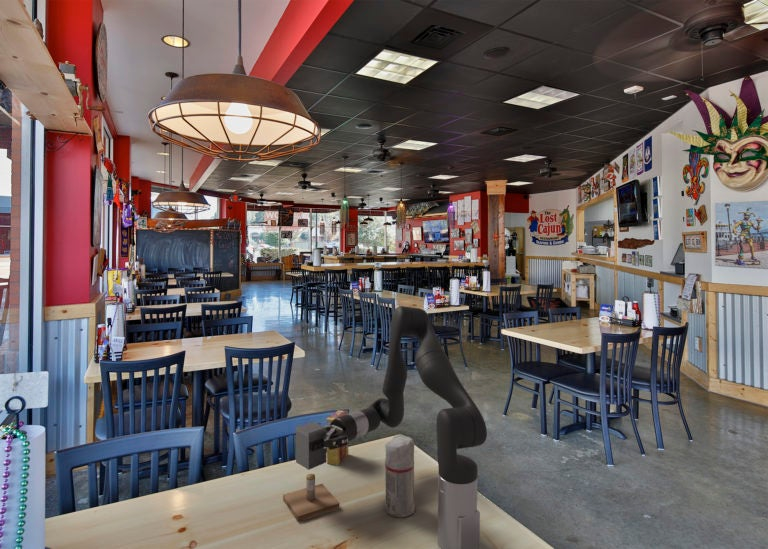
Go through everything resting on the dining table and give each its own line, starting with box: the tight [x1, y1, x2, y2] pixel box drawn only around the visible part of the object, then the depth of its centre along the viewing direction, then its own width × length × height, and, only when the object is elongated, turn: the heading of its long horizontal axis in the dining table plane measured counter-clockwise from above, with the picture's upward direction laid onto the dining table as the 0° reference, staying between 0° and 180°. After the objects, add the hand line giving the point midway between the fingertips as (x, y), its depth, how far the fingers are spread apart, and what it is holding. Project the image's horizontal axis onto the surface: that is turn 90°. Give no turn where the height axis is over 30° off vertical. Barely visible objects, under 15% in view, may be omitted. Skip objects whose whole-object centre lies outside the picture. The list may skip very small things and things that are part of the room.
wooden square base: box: [282, 473, 341, 523], centre depth 122 cm, size 12×12×8 cm
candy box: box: [325, 410, 349, 466], centre depth 150 cm, size 9×4×15 cm, turn 160°
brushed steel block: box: [295, 421, 327, 471], centre depth 122 cm, size 6×6×10 cm
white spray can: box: [384, 434, 416, 518], centre depth 120 cm, size 8×8×20 cm
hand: (303, 443), depth 120 cm, fingers closed on brushed steel block, 6 cm apart
